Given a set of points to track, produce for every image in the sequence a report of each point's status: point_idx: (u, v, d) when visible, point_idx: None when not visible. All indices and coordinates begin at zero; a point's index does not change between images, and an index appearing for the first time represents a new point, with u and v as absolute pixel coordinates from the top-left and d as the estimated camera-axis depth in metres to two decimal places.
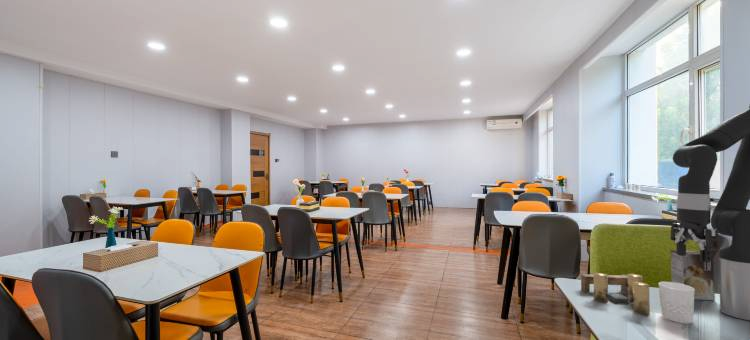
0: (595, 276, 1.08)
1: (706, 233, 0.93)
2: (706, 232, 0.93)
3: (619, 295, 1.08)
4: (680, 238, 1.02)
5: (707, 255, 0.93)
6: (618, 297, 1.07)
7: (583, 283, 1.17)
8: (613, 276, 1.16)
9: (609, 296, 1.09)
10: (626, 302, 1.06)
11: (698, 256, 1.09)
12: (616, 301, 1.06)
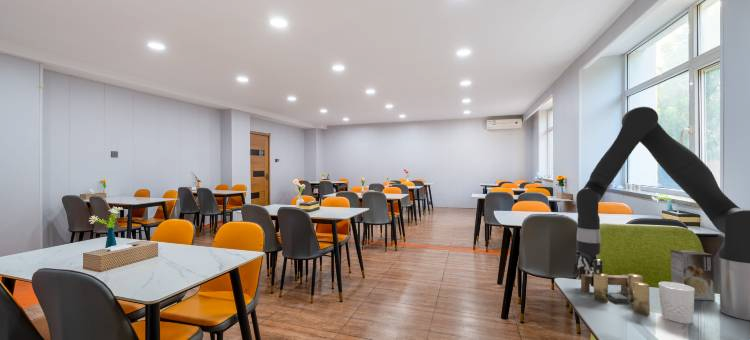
0: (595, 276, 1.08)
1: (593, 263, 1.12)
2: (593, 262, 1.12)
3: (619, 295, 1.08)
4: (580, 264, 1.21)
5: None
6: (618, 297, 1.07)
7: (583, 283, 1.17)
8: (613, 276, 1.16)
9: (609, 296, 1.09)
10: (626, 302, 1.06)
11: (698, 256, 1.09)
12: (616, 301, 1.06)
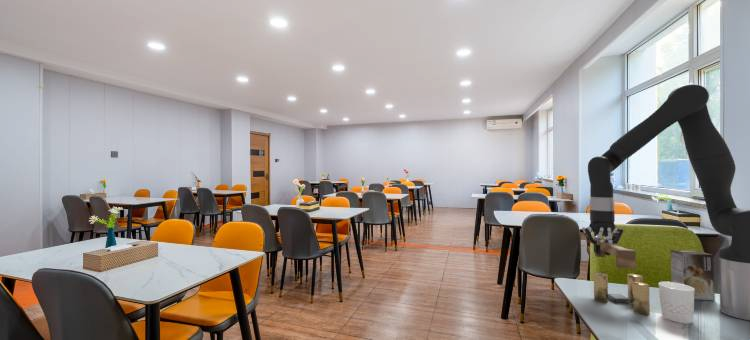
0: (595, 276, 1.08)
1: None
2: None
3: (619, 295, 1.09)
4: (604, 237, 1.18)
5: (594, 248, 1.17)
6: (618, 297, 1.07)
7: None
8: (615, 246, 1.09)
9: (609, 296, 1.09)
10: (626, 302, 1.06)
11: (698, 256, 1.09)
12: (616, 301, 1.06)
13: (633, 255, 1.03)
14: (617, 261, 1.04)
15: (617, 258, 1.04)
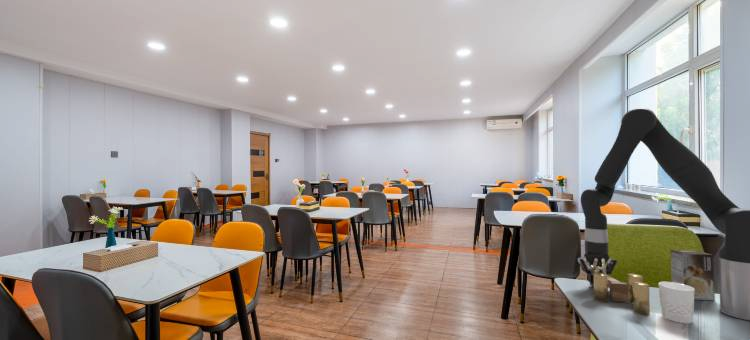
0: (595, 276, 1.08)
1: None
2: None
3: None
4: (598, 267, 1.21)
5: (589, 278, 1.21)
6: None
7: None
8: (609, 278, 1.12)
9: None
10: None
11: (698, 256, 1.09)
12: None
13: (626, 288, 1.06)
14: (611, 294, 1.08)
15: (611, 291, 1.08)
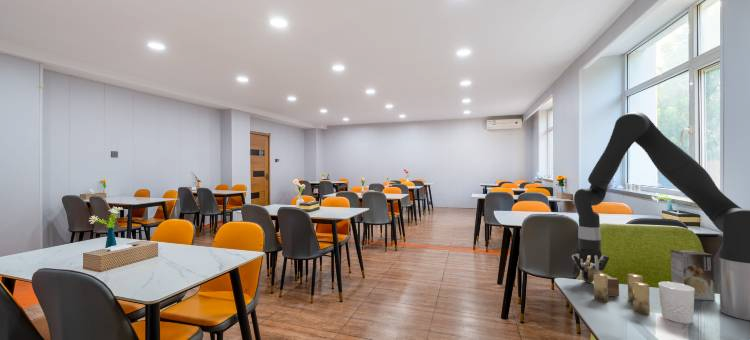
0: (595, 276, 1.08)
1: None
2: None
3: None
4: (591, 263, 1.26)
5: (582, 274, 1.26)
6: None
7: None
8: None
9: None
10: None
11: (698, 256, 1.09)
12: None
13: (616, 283, 1.11)
14: None
15: None
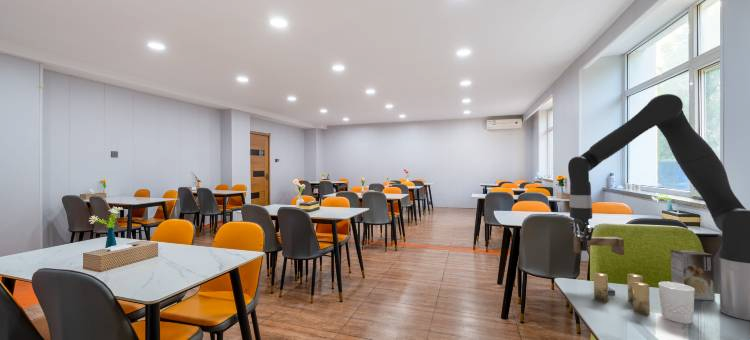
0: (595, 276, 1.08)
1: (585, 229, 1.18)
2: (585, 229, 1.18)
3: None
4: (576, 232, 1.25)
5: (584, 245, 1.20)
6: None
7: (575, 245, 1.23)
8: (604, 237, 1.22)
9: None
10: (612, 294, 1.13)
11: (698, 256, 1.09)
12: None
13: None
14: (621, 249, 1.19)
15: (621, 246, 1.19)
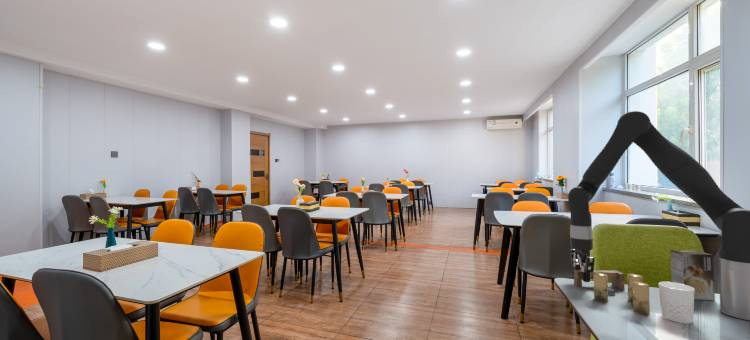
0: (595, 276, 1.08)
1: (586, 260, 1.17)
2: (586, 259, 1.17)
3: None
4: (575, 262, 1.25)
5: (587, 276, 1.19)
6: None
7: (576, 278, 1.23)
8: (604, 271, 1.22)
9: None
10: (612, 294, 1.13)
11: (698, 256, 1.09)
12: None
13: None
14: (621, 284, 1.19)
15: (621, 281, 1.19)
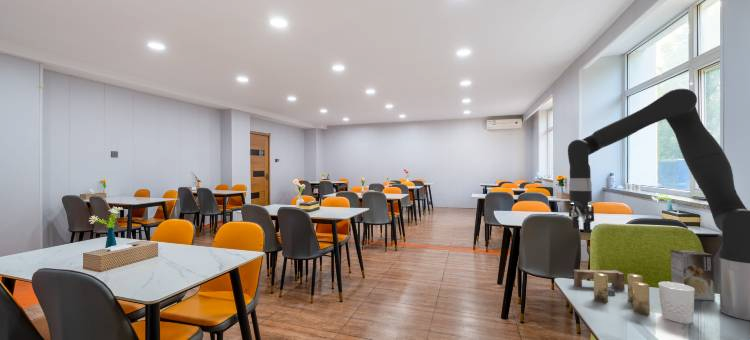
0: (595, 276, 1.08)
1: (585, 209, 1.18)
2: (585, 208, 1.18)
3: None
4: (573, 214, 1.27)
5: (587, 226, 1.18)
6: None
7: (576, 278, 1.23)
8: (604, 271, 1.22)
9: None
10: (612, 294, 1.13)
11: (698, 256, 1.09)
12: None
13: None
14: (621, 284, 1.19)
15: (621, 281, 1.19)
